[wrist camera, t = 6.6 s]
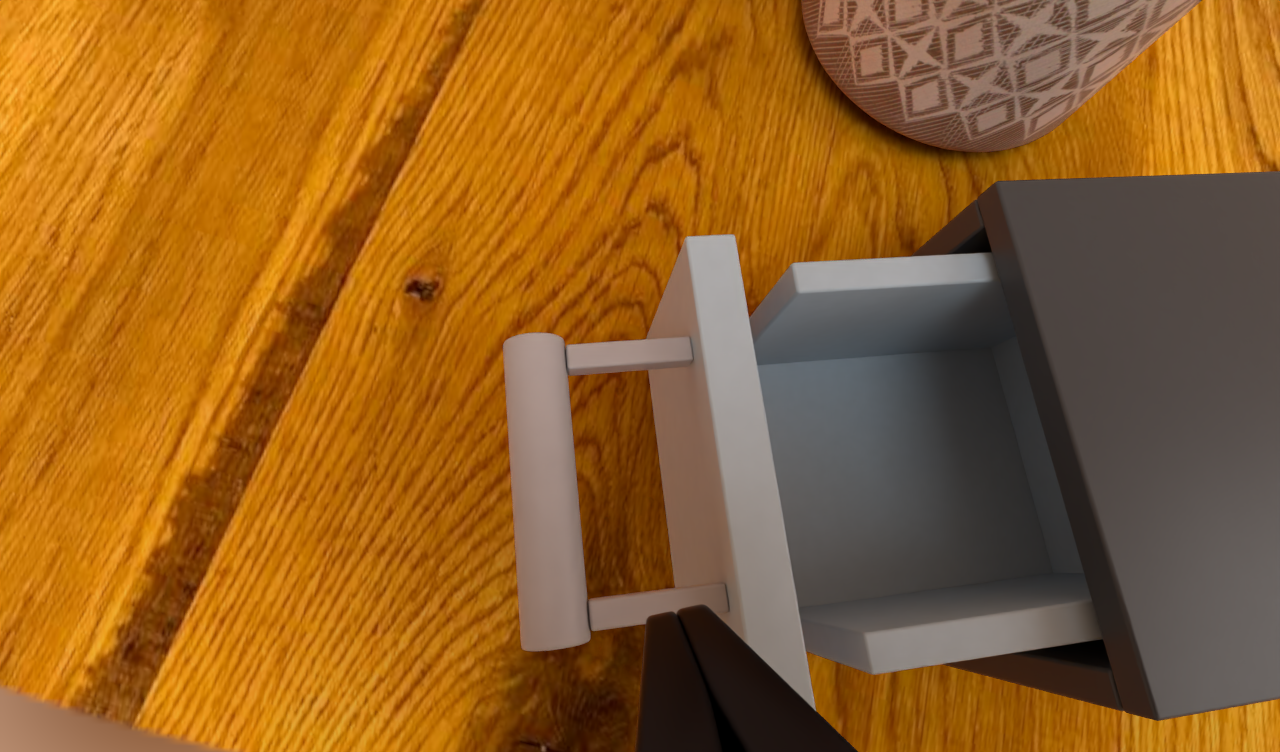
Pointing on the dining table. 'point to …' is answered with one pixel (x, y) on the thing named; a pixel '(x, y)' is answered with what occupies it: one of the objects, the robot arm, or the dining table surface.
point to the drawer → (816, 468)
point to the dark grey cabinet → (1151, 423)
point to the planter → (980, 61)
